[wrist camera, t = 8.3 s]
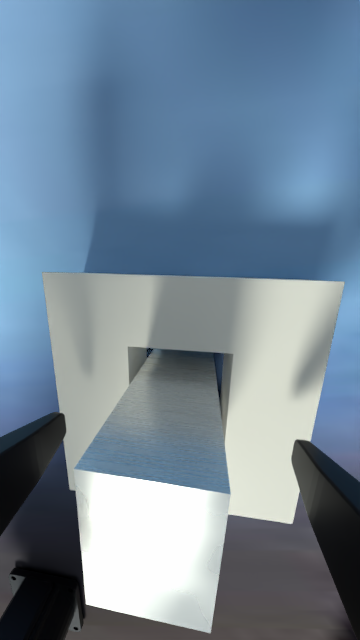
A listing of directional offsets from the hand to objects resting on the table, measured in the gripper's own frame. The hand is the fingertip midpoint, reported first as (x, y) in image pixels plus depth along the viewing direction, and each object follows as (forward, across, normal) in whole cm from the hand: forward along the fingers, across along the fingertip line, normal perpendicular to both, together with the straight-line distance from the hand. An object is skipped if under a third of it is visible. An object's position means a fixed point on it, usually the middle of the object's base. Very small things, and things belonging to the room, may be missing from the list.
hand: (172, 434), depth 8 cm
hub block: (+5, 0, 0) cm, 5 cm away
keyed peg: (+5, 0, 0) cm, 5 cm away
